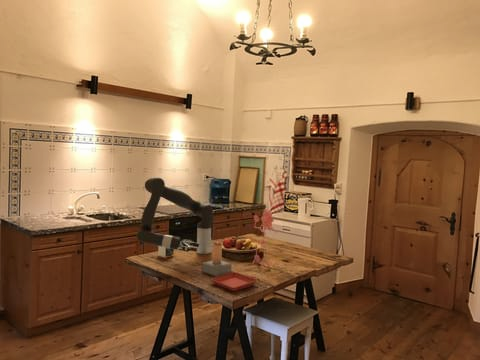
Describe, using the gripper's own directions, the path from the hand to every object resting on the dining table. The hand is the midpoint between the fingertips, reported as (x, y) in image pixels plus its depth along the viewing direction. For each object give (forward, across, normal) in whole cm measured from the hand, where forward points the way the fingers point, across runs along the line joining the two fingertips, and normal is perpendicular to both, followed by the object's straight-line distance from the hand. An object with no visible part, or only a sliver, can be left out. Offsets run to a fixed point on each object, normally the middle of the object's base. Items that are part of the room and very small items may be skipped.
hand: (198, 247), depth 237 cm
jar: (+13, -4, +5) cm, 14 cm away
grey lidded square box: (+14, -4, +10) cm, 18 cm away
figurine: (+43, +12, +7) cm, 45 cm away
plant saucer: (+24, -24, +8) cm, 35 cm away
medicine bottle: (-21, +24, +18) cm, 36 cm away
